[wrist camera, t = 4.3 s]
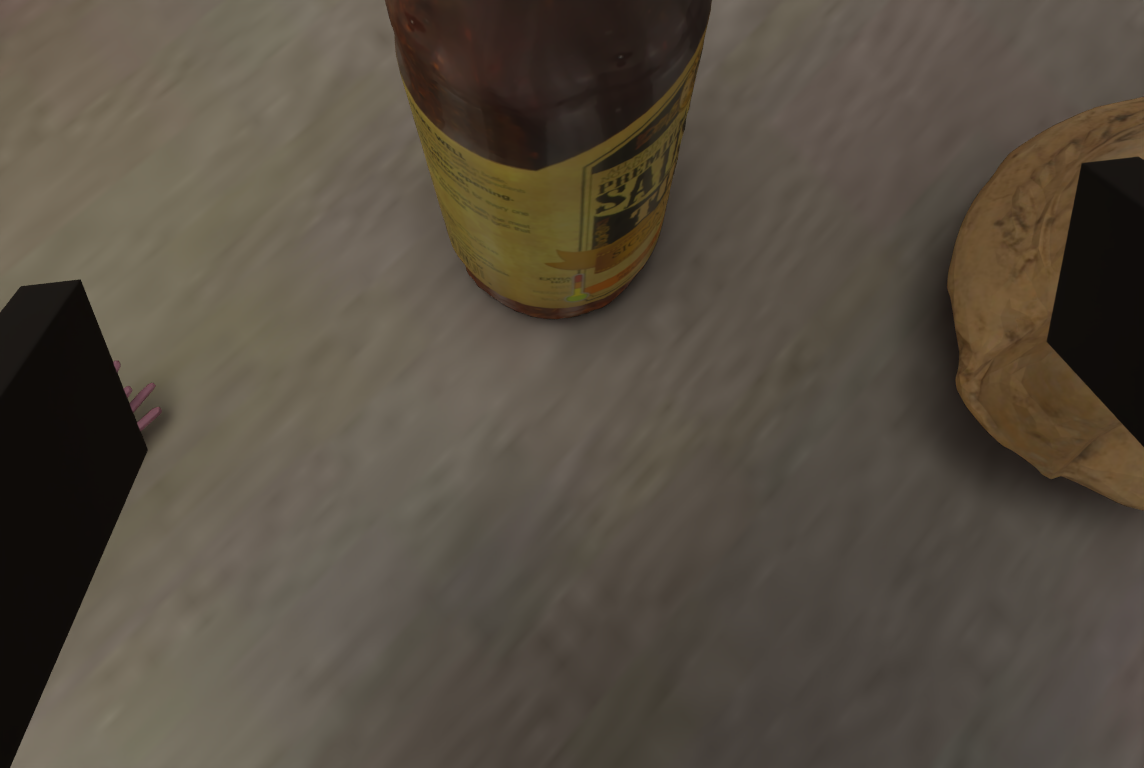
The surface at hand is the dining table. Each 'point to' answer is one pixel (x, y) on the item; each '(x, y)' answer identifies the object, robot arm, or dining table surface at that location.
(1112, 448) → the oil lamp
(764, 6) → the dining table surface
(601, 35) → the sauce bottle
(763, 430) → the dining table surface
